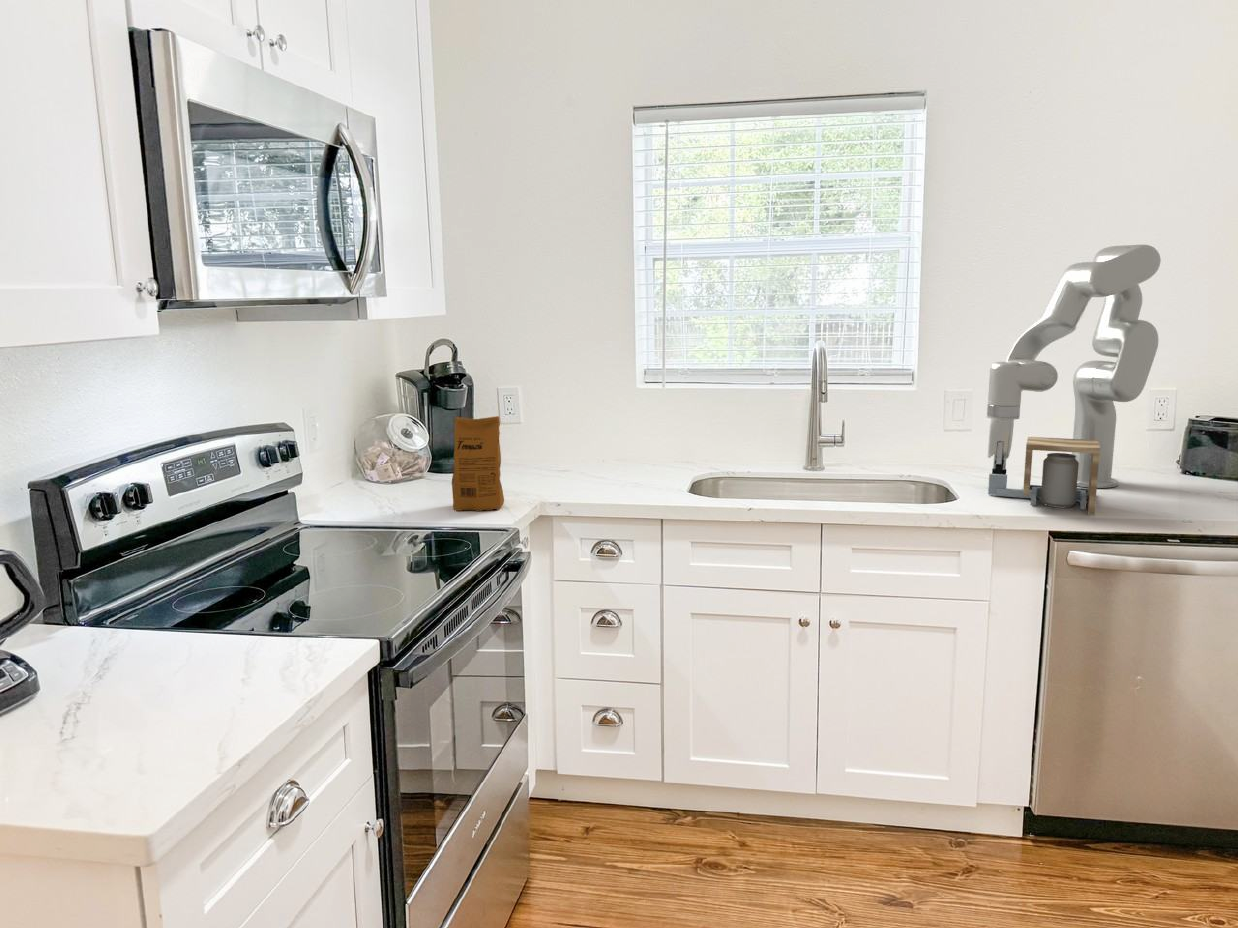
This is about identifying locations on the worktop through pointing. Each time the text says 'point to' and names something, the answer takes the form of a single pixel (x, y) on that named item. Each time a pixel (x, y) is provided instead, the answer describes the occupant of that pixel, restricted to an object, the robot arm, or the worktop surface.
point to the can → (1059, 480)
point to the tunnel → (1065, 446)
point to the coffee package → (477, 465)
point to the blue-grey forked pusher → (1000, 483)
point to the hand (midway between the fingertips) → (998, 484)
